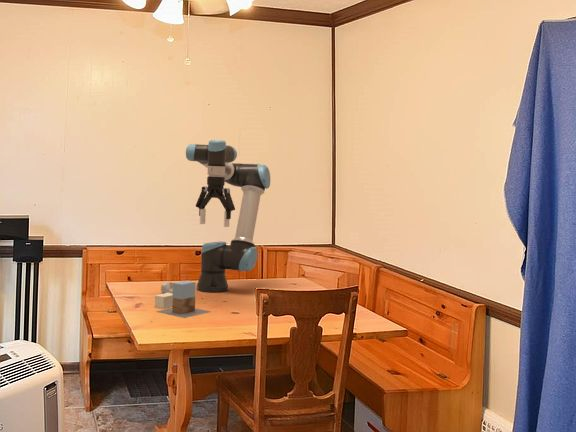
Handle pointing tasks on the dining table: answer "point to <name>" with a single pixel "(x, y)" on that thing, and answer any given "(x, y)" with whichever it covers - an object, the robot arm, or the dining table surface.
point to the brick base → (183, 305)
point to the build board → (185, 315)
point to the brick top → (183, 289)
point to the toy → (167, 287)
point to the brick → (163, 300)
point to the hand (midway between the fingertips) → (214, 225)
